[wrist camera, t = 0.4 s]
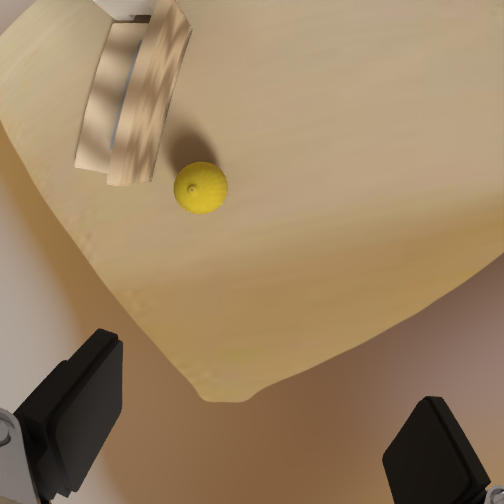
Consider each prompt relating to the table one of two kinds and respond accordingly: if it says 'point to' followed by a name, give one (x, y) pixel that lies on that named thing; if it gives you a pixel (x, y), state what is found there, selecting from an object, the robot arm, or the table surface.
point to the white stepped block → (127, 8)
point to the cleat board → (133, 96)
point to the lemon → (200, 187)
